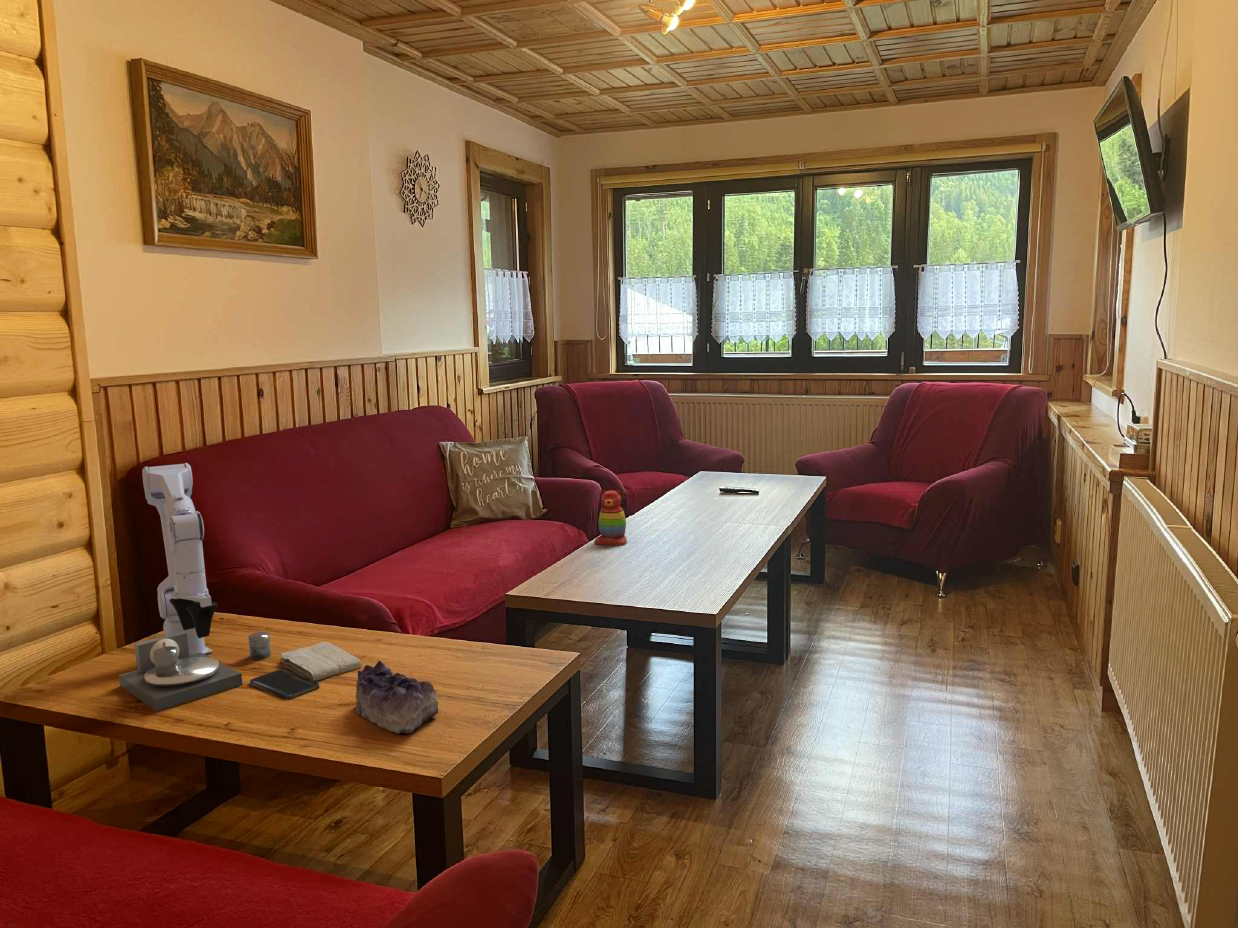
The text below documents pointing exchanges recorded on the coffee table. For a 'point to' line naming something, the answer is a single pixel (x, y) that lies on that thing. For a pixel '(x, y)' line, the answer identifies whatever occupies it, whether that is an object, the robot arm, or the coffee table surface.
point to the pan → (185, 672)
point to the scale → (175, 694)
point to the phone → (284, 684)
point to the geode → (394, 699)
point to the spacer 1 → (166, 661)
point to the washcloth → (319, 661)
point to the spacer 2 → (259, 645)
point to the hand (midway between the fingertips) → (196, 632)
